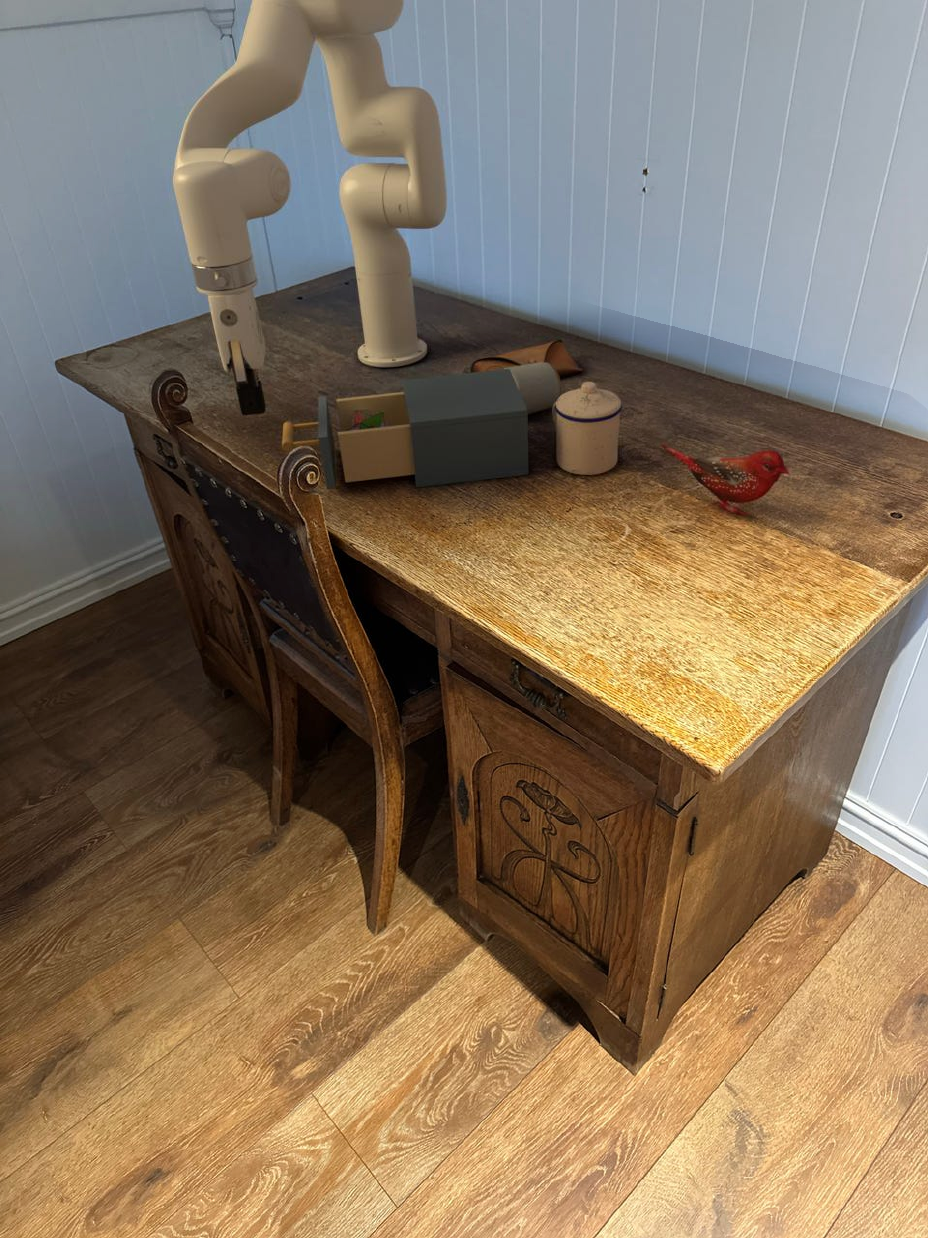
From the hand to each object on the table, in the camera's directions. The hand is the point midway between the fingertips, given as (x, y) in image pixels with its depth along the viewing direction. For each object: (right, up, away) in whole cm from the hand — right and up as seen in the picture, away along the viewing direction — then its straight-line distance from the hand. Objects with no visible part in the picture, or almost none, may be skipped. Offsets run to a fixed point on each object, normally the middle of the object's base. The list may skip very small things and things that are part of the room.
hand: (254, 411), depth 123 cm
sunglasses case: (+40, +13, +30) cm, 51 cm away
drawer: (+13, -6, +7) cm, 16 cm away
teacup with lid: (+45, -5, +7) cm, 46 cm away
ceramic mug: (+38, +5, +20) cm, 44 cm away
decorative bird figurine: (+61, -14, -6) cm, 63 cm away
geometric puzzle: (+15, -5, +6) cm, 17 cm away
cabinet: (+29, -5, +9) cm, 31 cm away
